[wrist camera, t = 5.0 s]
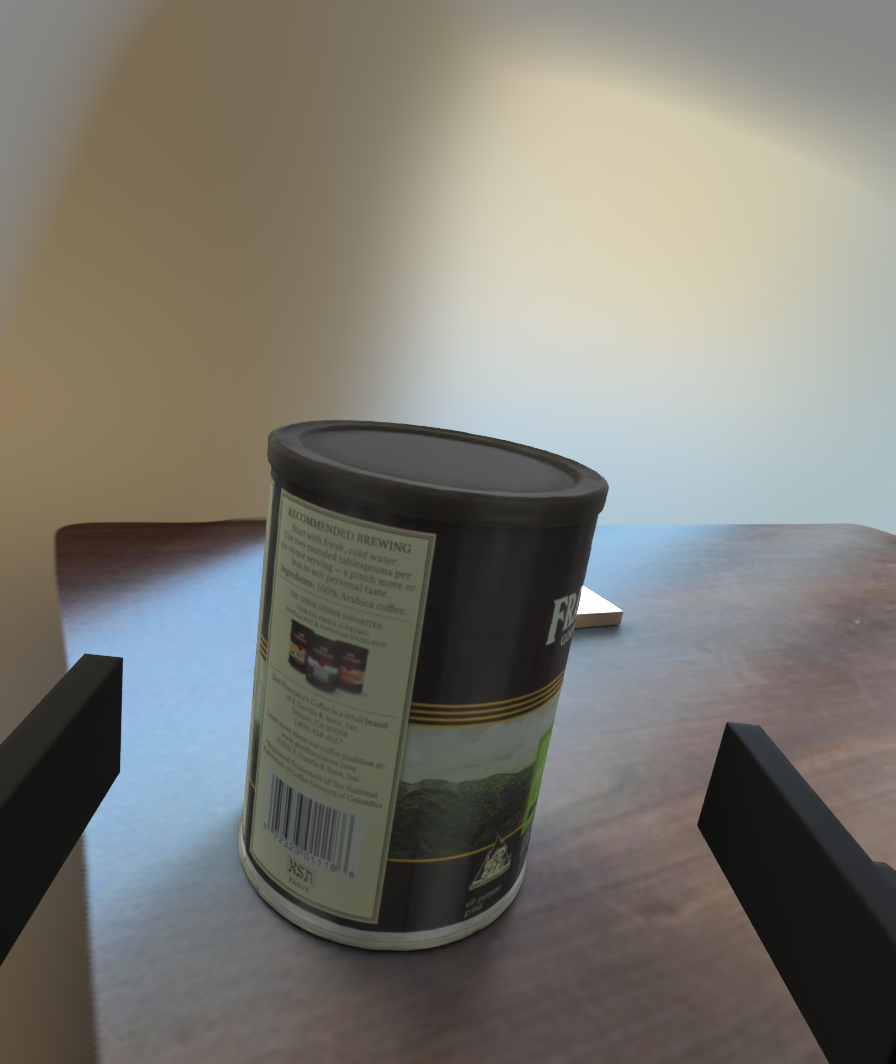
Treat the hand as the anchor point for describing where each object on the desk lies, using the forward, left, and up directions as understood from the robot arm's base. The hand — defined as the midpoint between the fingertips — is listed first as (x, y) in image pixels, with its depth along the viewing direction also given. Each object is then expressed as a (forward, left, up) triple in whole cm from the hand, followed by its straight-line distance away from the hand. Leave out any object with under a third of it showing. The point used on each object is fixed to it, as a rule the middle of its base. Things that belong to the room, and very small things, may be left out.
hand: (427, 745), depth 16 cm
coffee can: (-4, +8, -9) cm, 13 cm away
